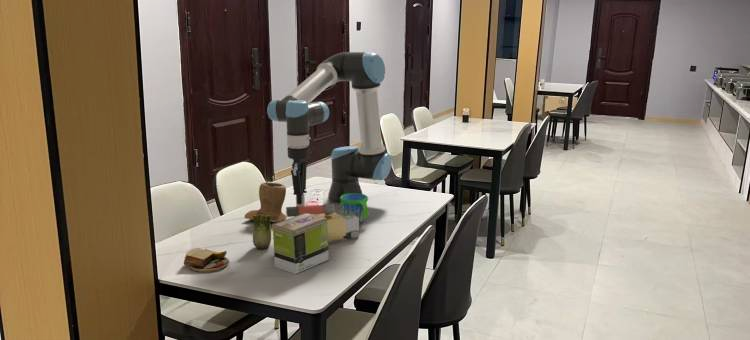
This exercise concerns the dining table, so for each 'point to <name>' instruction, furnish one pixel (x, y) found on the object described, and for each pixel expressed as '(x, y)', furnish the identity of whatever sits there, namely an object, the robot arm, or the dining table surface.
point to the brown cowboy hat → (270, 202)
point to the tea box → (300, 242)
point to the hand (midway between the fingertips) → (300, 211)
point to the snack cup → (355, 205)
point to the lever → (310, 210)
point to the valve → (341, 227)
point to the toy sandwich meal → (205, 260)
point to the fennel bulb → (261, 232)
